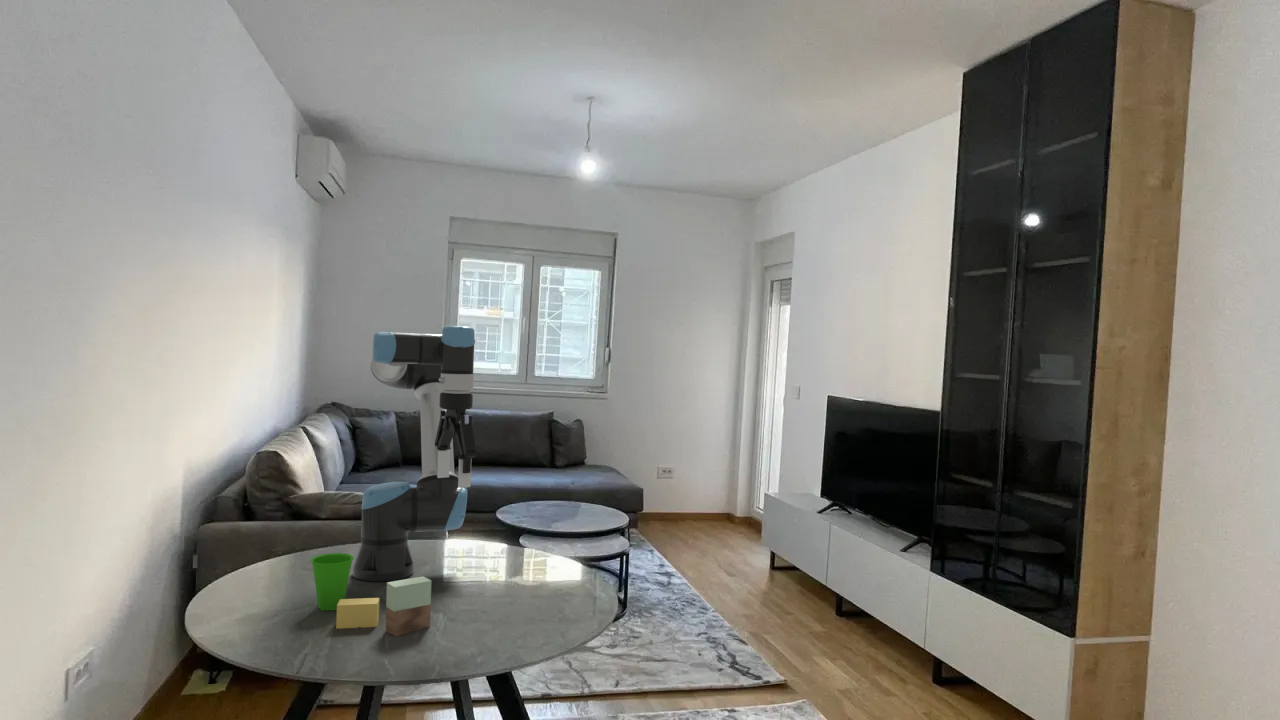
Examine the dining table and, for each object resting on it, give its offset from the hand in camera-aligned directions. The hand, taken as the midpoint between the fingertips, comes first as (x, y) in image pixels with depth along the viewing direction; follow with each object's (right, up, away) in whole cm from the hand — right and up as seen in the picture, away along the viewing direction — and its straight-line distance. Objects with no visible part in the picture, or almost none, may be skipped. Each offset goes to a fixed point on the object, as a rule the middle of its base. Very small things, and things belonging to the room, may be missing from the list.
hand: (453, 482), depth 177 cm
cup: (-26, -27, -7) cm, 38 cm away
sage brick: (-5, -23, -19) cm, 30 cm away
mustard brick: (-16, -28, -17) cm, 36 cm away
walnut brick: (-5, -28, -19) cm, 34 cm away
